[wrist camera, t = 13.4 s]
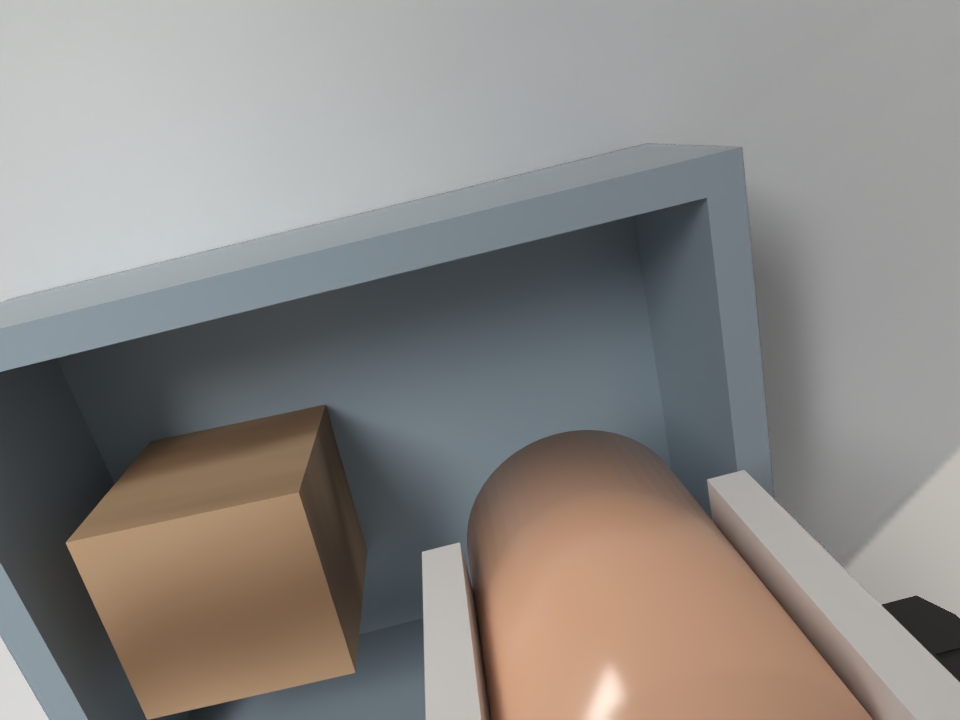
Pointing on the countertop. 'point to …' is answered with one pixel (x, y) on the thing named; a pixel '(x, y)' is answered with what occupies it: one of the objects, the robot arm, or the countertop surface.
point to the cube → (228, 563)
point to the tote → (384, 386)
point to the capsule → (627, 598)
